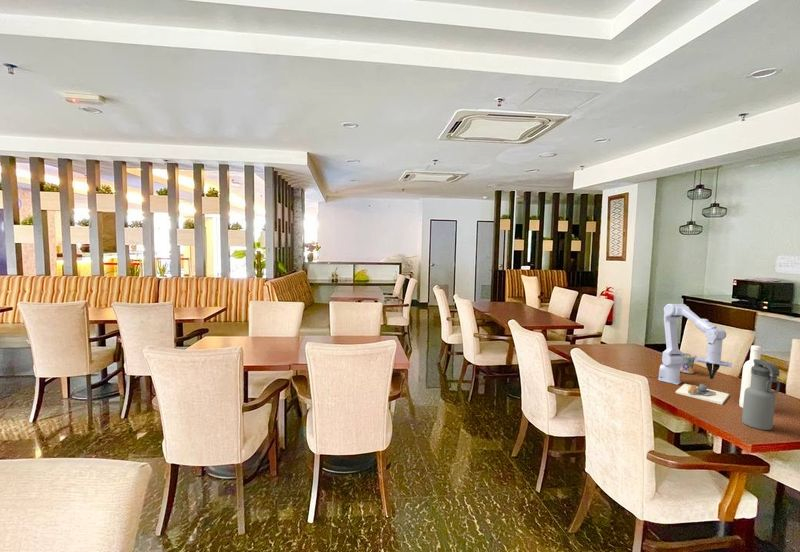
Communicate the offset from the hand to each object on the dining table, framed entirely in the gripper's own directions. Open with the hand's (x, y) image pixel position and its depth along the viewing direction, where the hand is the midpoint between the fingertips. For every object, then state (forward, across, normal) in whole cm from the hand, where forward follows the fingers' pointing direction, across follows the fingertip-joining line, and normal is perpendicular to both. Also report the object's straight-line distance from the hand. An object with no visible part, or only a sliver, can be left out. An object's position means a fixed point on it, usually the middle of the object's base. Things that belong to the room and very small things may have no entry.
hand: (711, 378), depth 200 cm
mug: (+10, -12, +44) cm, 47 cm away
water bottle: (+10, +16, -27) cm, 33 cm away
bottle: (+10, +15, -4) cm, 19 cm away
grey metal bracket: (+9, -4, 0) cm, 10 cm away
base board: (+10, -3, +3) cm, 11 cm away
